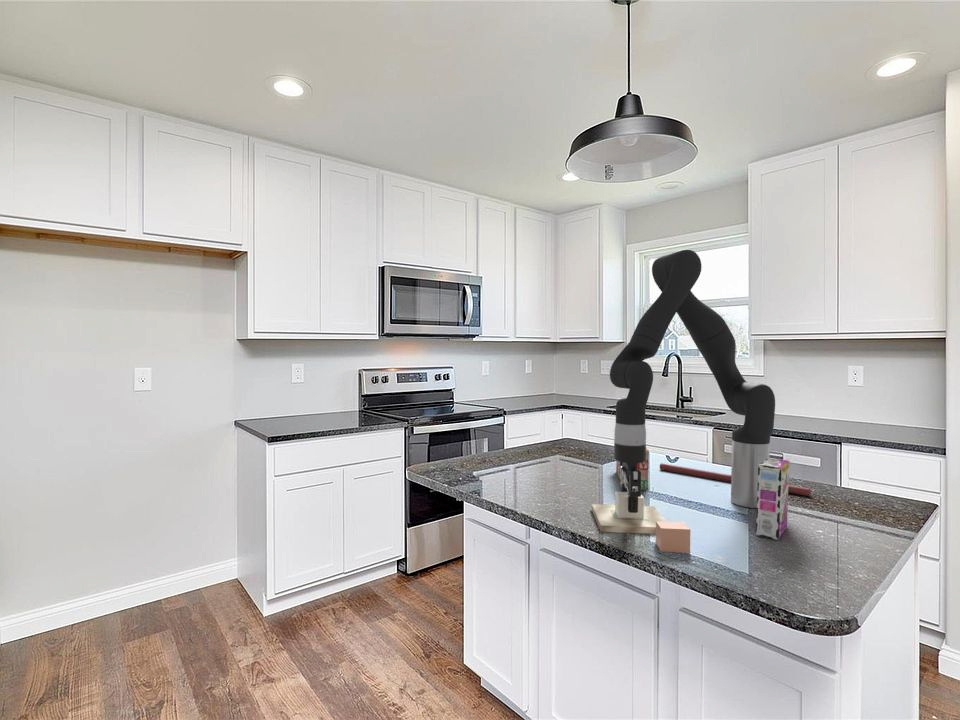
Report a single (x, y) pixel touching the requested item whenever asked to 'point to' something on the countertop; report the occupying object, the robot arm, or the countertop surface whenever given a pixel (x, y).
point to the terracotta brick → (672, 536)
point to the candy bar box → (772, 498)
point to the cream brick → (622, 506)
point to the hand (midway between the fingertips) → (629, 506)
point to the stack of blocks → (641, 467)
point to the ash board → (626, 520)
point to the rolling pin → (723, 477)
